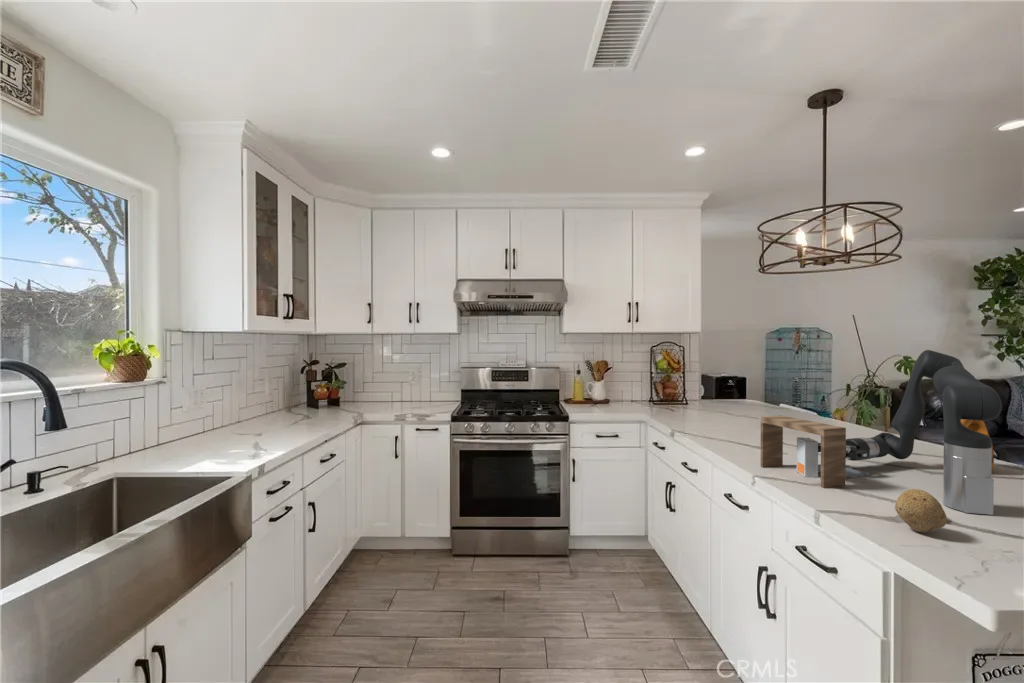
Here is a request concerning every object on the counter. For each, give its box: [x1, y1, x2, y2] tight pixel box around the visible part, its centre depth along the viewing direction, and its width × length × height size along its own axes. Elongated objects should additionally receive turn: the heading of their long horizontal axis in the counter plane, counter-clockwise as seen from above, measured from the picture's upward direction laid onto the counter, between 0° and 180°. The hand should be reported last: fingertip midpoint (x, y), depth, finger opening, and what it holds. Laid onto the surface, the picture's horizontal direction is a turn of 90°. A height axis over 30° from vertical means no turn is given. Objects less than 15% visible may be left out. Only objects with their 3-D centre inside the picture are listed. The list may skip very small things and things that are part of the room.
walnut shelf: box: [760, 415, 847, 489], centre depth 153 cm, size 24×9×18 cm, turn 17°
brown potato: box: [894, 488, 948, 534], centre depth 109 cm, size 9×9×10 cm
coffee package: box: [961, 419, 995, 473], centre depth 160 cm, size 10×12×22 cm
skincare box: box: [796, 436, 819, 478], centre depth 154 cm, size 6×4×12 cm
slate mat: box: [818, 463, 871, 479], centre depth 158 cm, size 13×13×1 cm
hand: (824, 452), depth 156 cm, fingers open, 8 cm apart
